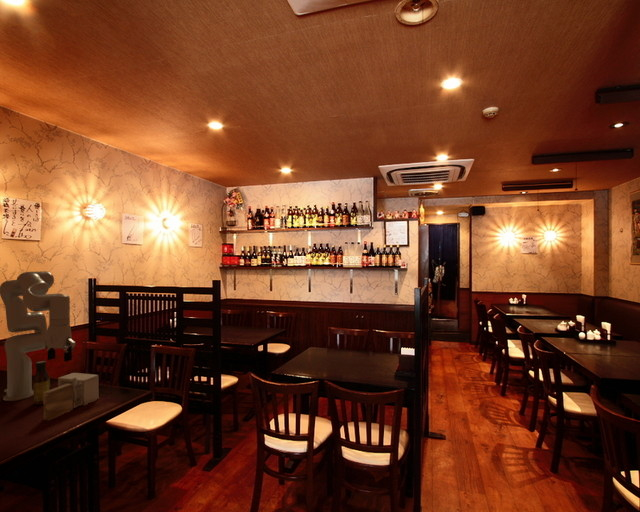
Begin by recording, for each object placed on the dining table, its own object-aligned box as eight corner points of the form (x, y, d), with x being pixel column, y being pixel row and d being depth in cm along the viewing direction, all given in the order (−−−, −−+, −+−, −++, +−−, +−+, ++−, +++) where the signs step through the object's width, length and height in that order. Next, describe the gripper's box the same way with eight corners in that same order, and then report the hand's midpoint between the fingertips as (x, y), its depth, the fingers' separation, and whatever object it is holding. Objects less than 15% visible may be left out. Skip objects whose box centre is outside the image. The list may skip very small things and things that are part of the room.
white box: (50, 405, 168) (50, 376, 168) (73, 396, 179) (73, 368, 180) (76, 408, 164) (76, 378, 164) (98, 399, 175) (98, 371, 175)
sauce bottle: (52, 401, 173) (52, 360, 174) (38, 406, 168) (38, 364, 168) (45, 399, 176) (45, 359, 176) (30, 403, 170) (30, 362, 171)
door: (42, 419, 153) (42, 392, 153) (75, 405, 168) (75, 380, 168) (50, 420, 152) (49, 393, 152) (82, 406, 167) (82, 381, 167)
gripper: (36, 322, 158) (36, 360, 158) (66, 324, 153) (66, 363, 153) (53, 320, 165) (53, 356, 165) (82, 321, 161) (82, 359, 160)
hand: (59, 359), depth 159 cm, fingers open, 9 cm apart
